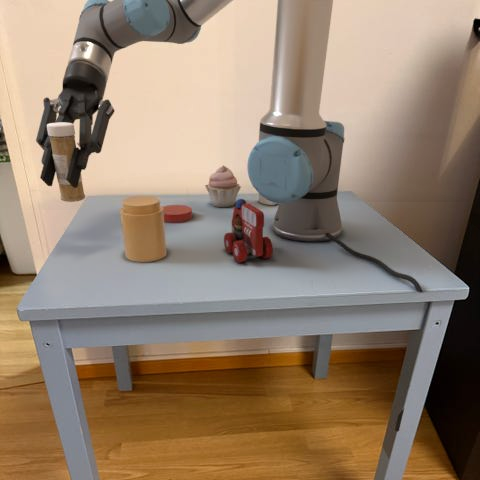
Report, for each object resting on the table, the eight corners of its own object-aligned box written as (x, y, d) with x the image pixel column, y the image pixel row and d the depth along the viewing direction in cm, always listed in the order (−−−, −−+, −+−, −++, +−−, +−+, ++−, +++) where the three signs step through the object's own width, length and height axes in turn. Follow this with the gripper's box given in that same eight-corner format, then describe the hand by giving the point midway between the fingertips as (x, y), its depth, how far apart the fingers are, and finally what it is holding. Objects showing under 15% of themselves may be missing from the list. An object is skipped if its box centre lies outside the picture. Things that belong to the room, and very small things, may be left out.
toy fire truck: (251, 242, 96) (252, 192, 90) (276, 263, 86) (279, 209, 80) (219, 246, 93) (219, 195, 88) (242, 268, 83) (243, 213, 78)
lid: (164, 211, 114) (164, 203, 113) (196, 213, 113) (196, 205, 112) (153, 221, 107) (152, 213, 106) (186, 223, 106) (186, 215, 105)
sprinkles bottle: (89, 199, 87) (78, 123, 80) (67, 204, 84) (53, 125, 77) (78, 194, 90) (66, 121, 83) (56, 198, 87) (41, 123, 80)
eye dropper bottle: (272, 199, 124) (274, 153, 118) (279, 205, 119) (281, 158, 113) (257, 200, 123) (258, 154, 117) (263, 206, 118) (264, 158, 112)
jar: (175, 253, 90) (171, 200, 84) (143, 265, 84) (137, 209, 79) (148, 243, 94) (143, 192, 89) (117, 254, 89) (109, 201, 83)
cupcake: (213, 211, 114) (212, 170, 109) (200, 201, 122) (199, 163, 117) (246, 207, 118) (247, 167, 113) (232, 198, 125) (232, 160, 120)
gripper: (35, 58, 85) (2, 168, 79) (122, 60, 82) (95, 173, 77) (55, 88, 92) (26, 191, 86) (136, 91, 89) (112, 196, 84)
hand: (58, 182), depth 81 cm, fingers closed on sprinkles bottle, 4 cm apart
